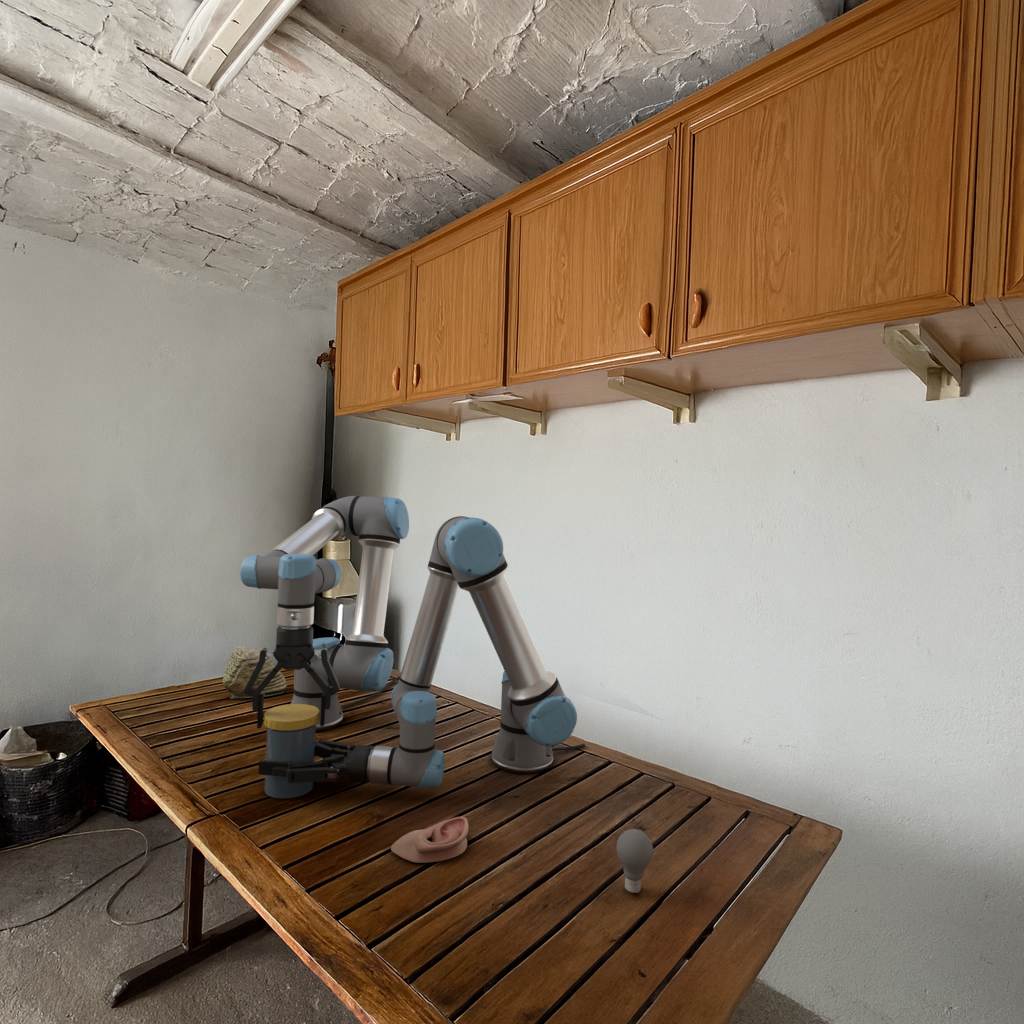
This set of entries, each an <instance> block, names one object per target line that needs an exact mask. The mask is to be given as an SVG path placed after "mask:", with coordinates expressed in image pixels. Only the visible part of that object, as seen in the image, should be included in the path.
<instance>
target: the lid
mask: <svg viewBox="0 0 1024 1024" xmlns="http://www.w3.org/2000/svg"><path fill="white" fill-rule="evenodd" d="M319 716H320V713H319V709H318V708H317V707H314V706H311V705H306V704H291V703H290V704H282V705H278V706H274V707H271V708H269V709H267V710H266V711H264V712H263V725H264V727H266V728H267V727H268V728H270V729H274V730H283V731H289V730H299V729H304V728H308V727H310V726H313V725H315V724H316V723H317V722H318V721H319Z"/></svg>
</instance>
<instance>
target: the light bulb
mask: <svg viewBox="0 0 1024 1024" xmlns="http://www.w3.org/2000/svg"><path fill="white" fill-rule="evenodd" d="M615 849H616V854H617V857H618V859H619V861H620V863H621V865H622V867H623V873H624V874H623V875H624V876H625V878H624V888H625V890H627V891H628V892H630V893H634V894H635V893H639V892H640V891H641V889H642V887H641V886H642V879H643V877H644V875H645V871H646V868H647V867H648V866H649V864H650V863H651V861H652V859H653V855H654V847H653V843H652V841H651V838H649V836H648V835H647V834H646V833H645V832H643V831H642V830H641V829H636V828H629V829H627V830H625V831H623V832H622V833H621V834H620V835H619V837H618V839H617V841H616V847H615Z"/></svg>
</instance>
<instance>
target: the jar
mask: <svg viewBox="0 0 1024 1024" xmlns="http://www.w3.org/2000/svg"><path fill="white" fill-rule="evenodd" d="M316 733H317V732H316V724H315V725H313V726H310V727H308V728H304V729H299V730H289V731H283V730H274V729H270V728H268V727H266V733H265V734H266V736H265V759H264V761H278V762H290V761H291V762H292V765H294V764H301V763H309V762H316V760H315V759H316V756H315V742H316V735H317V734H316ZM314 784H315V782H300V783H288V782H287V777H284V776H271V775H264V787H263V789H264V790H263V791H264V794H266V795H267V796H268V797H270V798H274V799H293V798H297V797H302V796H304V795H306V794H308V793H309V792H310V791H312V790H313V789H314V786H315V785H314Z"/></svg>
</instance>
